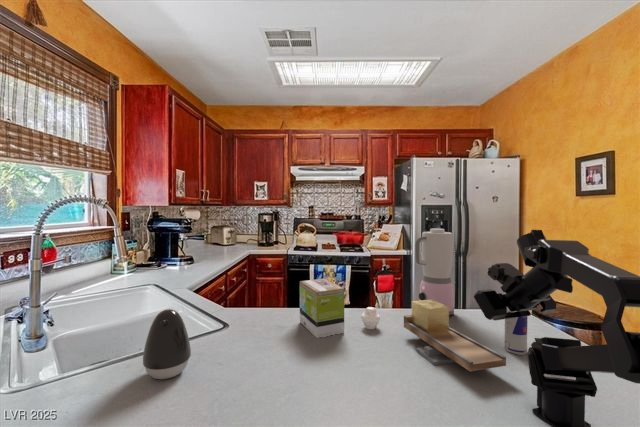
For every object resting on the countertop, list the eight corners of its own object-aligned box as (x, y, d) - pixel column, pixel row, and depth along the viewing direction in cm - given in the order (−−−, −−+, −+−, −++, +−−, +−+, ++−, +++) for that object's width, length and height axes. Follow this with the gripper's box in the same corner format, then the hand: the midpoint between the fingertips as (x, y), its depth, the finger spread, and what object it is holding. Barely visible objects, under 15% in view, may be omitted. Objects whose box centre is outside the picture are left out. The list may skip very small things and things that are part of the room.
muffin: (379, 324, 106) (379, 304, 106) (380, 331, 100) (380, 310, 100) (361, 323, 107) (361, 303, 107) (361, 330, 101) (361, 309, 101)
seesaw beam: (505, 365, 72) (506, 350, 72) (470, 371, 69) (470, 355, 69) (431, 323, 99) (431, 313, 99) (403, 326, 96) (403, 315, 96)
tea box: (298, 322, 107) (298, 280, 107) (324, 318, 112) (324, 277, 111) (316, 339, 94) (316, 290, 94) (345, 334, 98) (345, 287, 98)
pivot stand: (479, 358, 82) (480, 348, 82) (434, 365, 79) (434, 355, 79) (458, 345, 90) (458, 336, 90) (416, 351, 86) (416, 342, 86)
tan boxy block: (448, 331, 89) (448, 307, 89) (427, 333, 87) (427, 309, 87) (431, 321, 97) (431, 299, 97) (411, 324, 95) (411, 301, 95)
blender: (439, 306, 126) (440, 227, 126) (461, 316, 114) (462, 229, 114) (405, 310, 121) (406, 228, 121) (425, 321, 110) (426, 230, 109)
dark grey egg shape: (136, 389, 67) (136, 319, 67) (149, 365, 77) (149, 305, 77) (187, 382, 70) (187, 315, 70) (193, 360, 80) (193, 301, 80)
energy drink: (530, 356, 84) (531, 311, 84) (508, 354, 85) (509, 310, 85) (521, 347, 89) (522, 305, 89) (501, 345, 90) (502, 304, 90)
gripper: (544, 252, 74) (504, 287, 85) (480, 255, 69) (446, 292, 79) (580, 294, 66) (531, 326, 77) (511, 300, 61) (469, 334, 72)
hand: (493, 318), depth 77 cm, fingers closed
